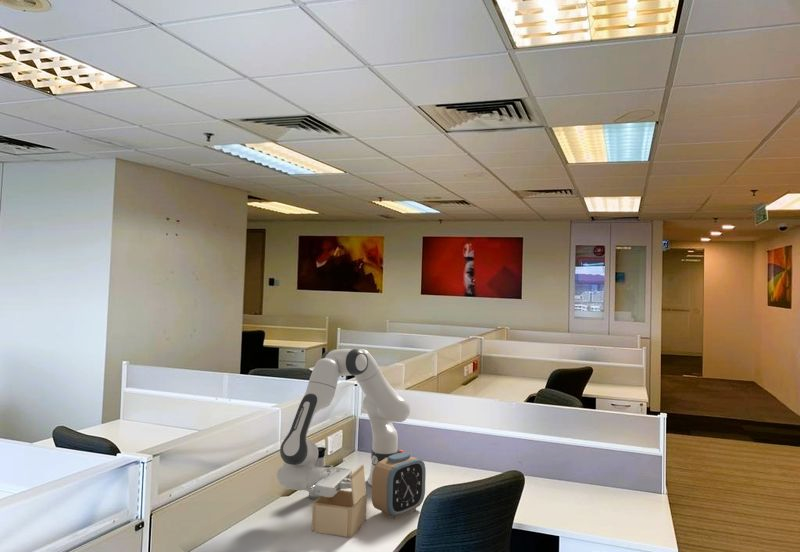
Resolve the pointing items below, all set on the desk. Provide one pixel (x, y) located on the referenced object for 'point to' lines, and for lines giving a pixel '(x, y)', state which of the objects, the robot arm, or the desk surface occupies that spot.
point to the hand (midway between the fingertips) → (354, 484)
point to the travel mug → (319, 463)
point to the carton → (338, 514)
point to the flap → (358, 484)
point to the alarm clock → (398, 485)
